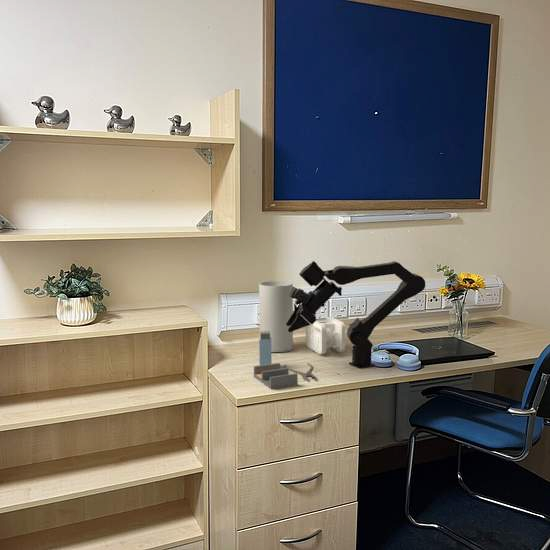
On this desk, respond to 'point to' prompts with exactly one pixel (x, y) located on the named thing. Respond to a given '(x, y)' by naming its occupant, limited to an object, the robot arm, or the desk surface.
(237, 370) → the desk surface
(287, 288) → the cylinder vase
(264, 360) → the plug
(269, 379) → the grey slotted holder
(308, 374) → the pliers
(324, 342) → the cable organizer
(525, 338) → the desk surface
